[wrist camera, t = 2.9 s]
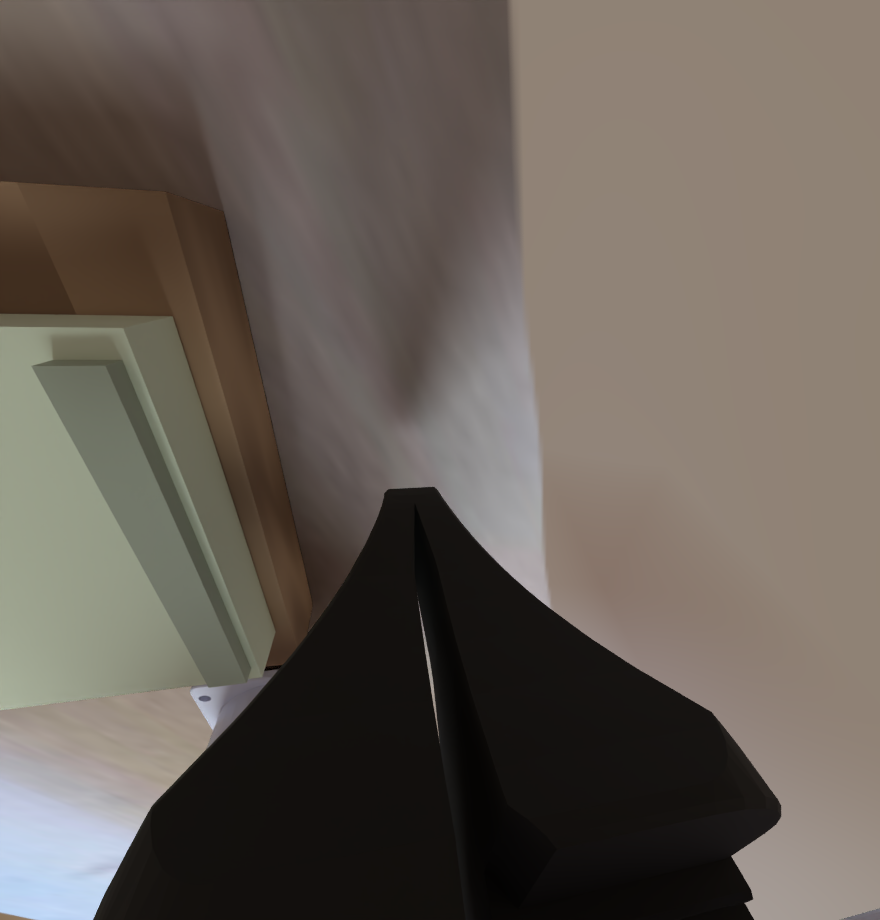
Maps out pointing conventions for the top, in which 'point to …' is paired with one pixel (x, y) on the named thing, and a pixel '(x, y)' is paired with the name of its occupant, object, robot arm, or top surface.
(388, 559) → the robot arm
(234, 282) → the board
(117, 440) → the cover
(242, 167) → the top surface
